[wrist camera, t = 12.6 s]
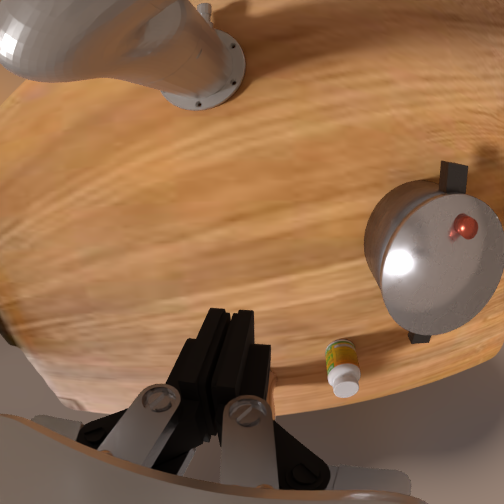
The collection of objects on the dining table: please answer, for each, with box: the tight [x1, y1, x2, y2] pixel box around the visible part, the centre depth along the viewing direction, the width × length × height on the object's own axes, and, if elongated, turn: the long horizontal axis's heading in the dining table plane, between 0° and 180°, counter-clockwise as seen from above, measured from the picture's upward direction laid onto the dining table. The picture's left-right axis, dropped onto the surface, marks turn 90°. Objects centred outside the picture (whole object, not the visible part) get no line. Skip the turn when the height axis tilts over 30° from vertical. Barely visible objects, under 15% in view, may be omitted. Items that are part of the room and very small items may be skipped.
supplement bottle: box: [325, 339, 361, 398], centre depth 44 cm, size 5×5×10 cm
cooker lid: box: [380, 192, 504, 335], centre depth 29 cm, size 19×19×3 cm
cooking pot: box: [364, 161, 468, 344], centre depth 35 cm, size 25×18×10 cm
